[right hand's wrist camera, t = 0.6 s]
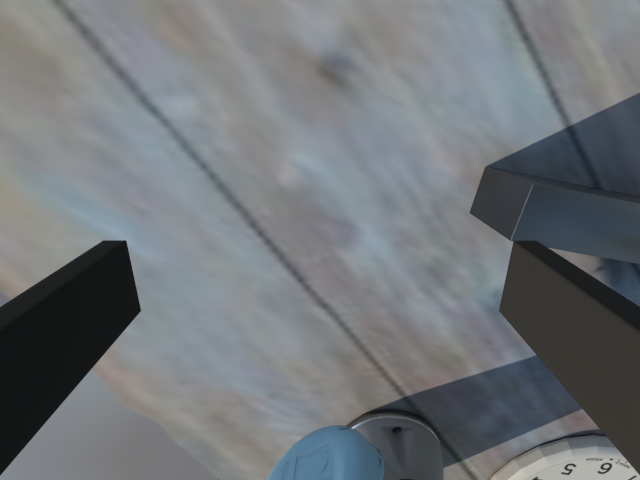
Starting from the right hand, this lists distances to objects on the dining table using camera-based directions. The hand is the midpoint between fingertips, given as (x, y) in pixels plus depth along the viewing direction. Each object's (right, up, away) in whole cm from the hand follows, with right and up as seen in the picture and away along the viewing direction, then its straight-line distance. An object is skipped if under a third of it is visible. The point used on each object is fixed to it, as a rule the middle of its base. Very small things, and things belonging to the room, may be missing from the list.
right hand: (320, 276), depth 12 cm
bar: (+35, +4, +28) cm, 45 cm away
